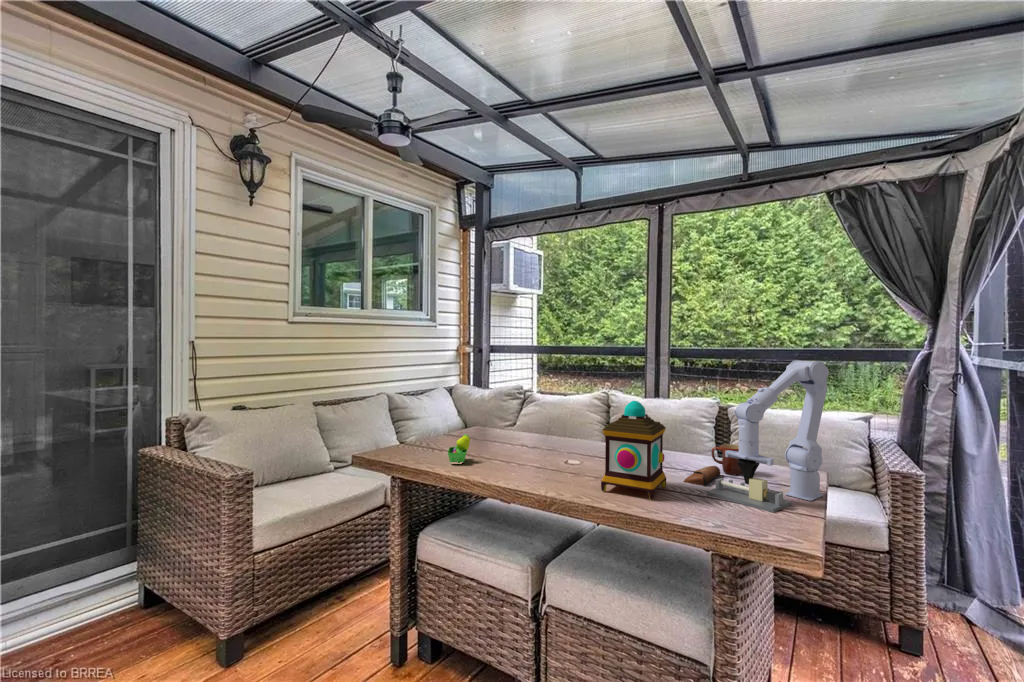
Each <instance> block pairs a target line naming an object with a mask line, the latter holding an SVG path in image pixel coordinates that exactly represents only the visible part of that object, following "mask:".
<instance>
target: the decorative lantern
mask: <svg viewBox="0 0 1024 682" xmlns="http://www.w3.org/2000/svg"><path fill="white" fill-rule="evenodd" d="M666 429H667V428H666V426H665V425H664V424H662V423H661V422H660V421H655V419H653V418H651V416H648V413H647V414H646V408H645V406H643V404H642V403H641V402H640V401H637V400H632V401H630V402H628V403H627V404H626V406H625V407H624V409H623V414H621V416H619V418H618V419H616V420H614V421H611V422H609V423H608V424H607V425H605V426H604V427H603V429H602V434H604V437H605V451H604V452H605V455H604V456H605V463H604V465H605V468H604V469H605V470H604V475H603V476H602V479H601V481H600V490H601V491H602V492H603V491H605V492H606V491H607V485H610V486H616V487H621V488H628V489H633V490H639V491H645V492H647V493H648V498H649V500H650V501H653V500H654V497H655V491H656V490H657V489H658V488H659V487H660V486H661V487H662V488H666V486H667V477H666V474H665V473H664V470H663V463H664V462H665V454H664V453H663V439H664V438H663V436H664V434H665V431H666Z"/></svg>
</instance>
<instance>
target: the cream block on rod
mask: <svg viewBox="0 0 1024 682" xmlns="http://www.w3.org/2000/svg"><path fill="white" fill-rule="evenodd" d="M768 485H769V484H768V479H764V478H760V477H755V476H753V478H751V479H749V485H748V487H749V498H751V499H755V500H759V501H763V499H766V500H767V498H764V496H763V491H764V490H765V489H766V490H768V489H769V488H768Z"/></svg>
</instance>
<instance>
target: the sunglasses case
mask: <svg viewBox="0 0 1024 682" xmlns="http://www.w3.org/2000/svg"><path fill="white" fill-rule="evenodd" d="M720 475H721V470H720V468H719V467H718V466H716V465H709V466H705V467H702V468H700V469H697V470H694V471H693V473H691V474H690V475H688V476H687V477H686V478H685V479H684V480H683V483H687V484H692V485H698V486H700V487H701V486H702V487H706V486H707V485H709V484H710V483H711V482H712V481H713V480H714V479H715V478H717V477H718V476H720Z"/></svg>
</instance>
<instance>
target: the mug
mask: <svg viewBox="0 0 1024 682" xmlns="http://www.w3.org/2000/svg"><path fill="white" fill-rule="evenodd" d="M715 450H718V451H720V452H722V459H721V460H719V459H717V458H716V457H715ZM727 450H730V451H738V452H739V444H733V443H730V444H729V443H727V444H726V443H725V444H720V446H714V447H712V449H711V458H712V459H713V461H714V462H716V463H717V464H719V465H722V466H721V467H722V471H723V473H724V474H725V475H730V476H741V475H742V476H743V474H742V471H741V469H740V467H739V465H738V463H737V462H738V461H739V459H737V458H732V457H725V451H727Z"/></svg>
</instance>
